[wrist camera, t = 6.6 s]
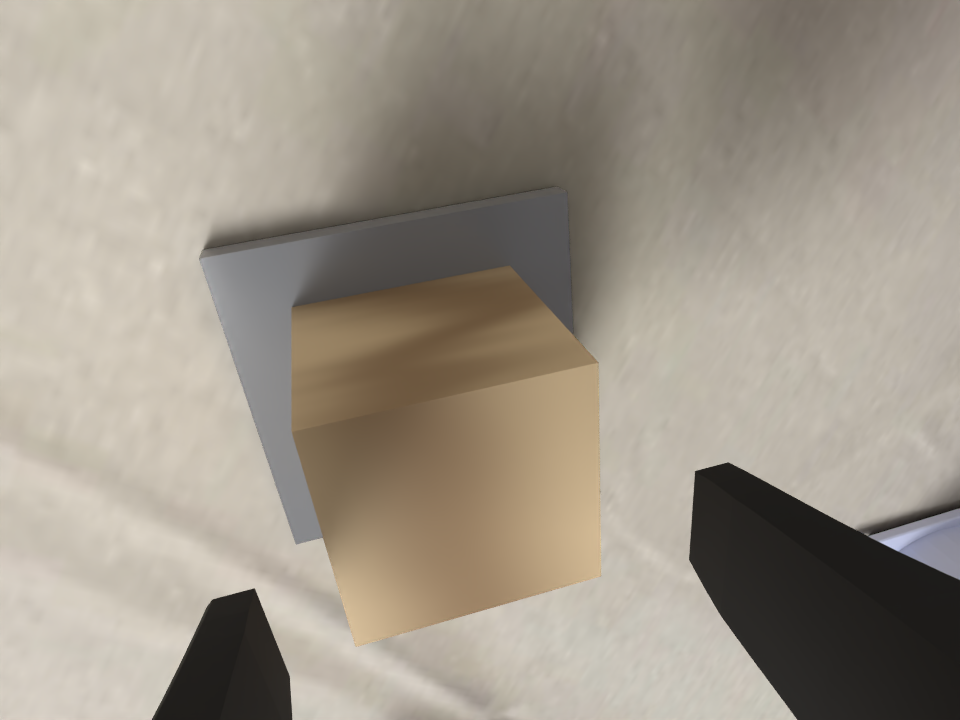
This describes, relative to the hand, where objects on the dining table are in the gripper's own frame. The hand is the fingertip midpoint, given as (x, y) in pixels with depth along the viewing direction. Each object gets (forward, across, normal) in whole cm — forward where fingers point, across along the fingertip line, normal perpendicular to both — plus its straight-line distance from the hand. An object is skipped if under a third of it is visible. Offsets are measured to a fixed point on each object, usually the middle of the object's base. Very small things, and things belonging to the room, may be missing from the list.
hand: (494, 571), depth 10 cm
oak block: (+6, 0, 0) cm, 6 cm away
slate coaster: (+7, 0, 0) cm, 7 cm away
